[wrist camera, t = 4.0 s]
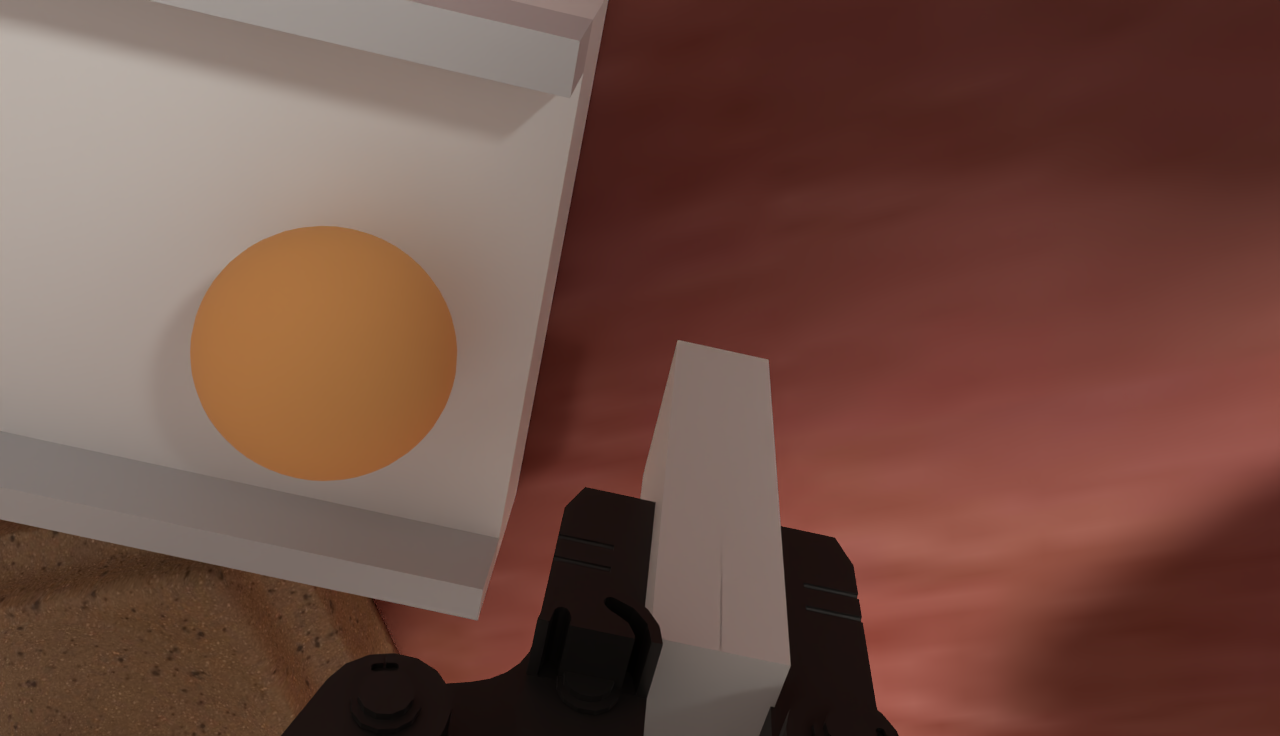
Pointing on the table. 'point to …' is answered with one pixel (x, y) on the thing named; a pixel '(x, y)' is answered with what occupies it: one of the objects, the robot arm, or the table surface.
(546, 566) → the table surface
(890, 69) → the table surface
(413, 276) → the ball
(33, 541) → the candle holder
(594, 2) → the tray
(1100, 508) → the table surface
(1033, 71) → the table surface
